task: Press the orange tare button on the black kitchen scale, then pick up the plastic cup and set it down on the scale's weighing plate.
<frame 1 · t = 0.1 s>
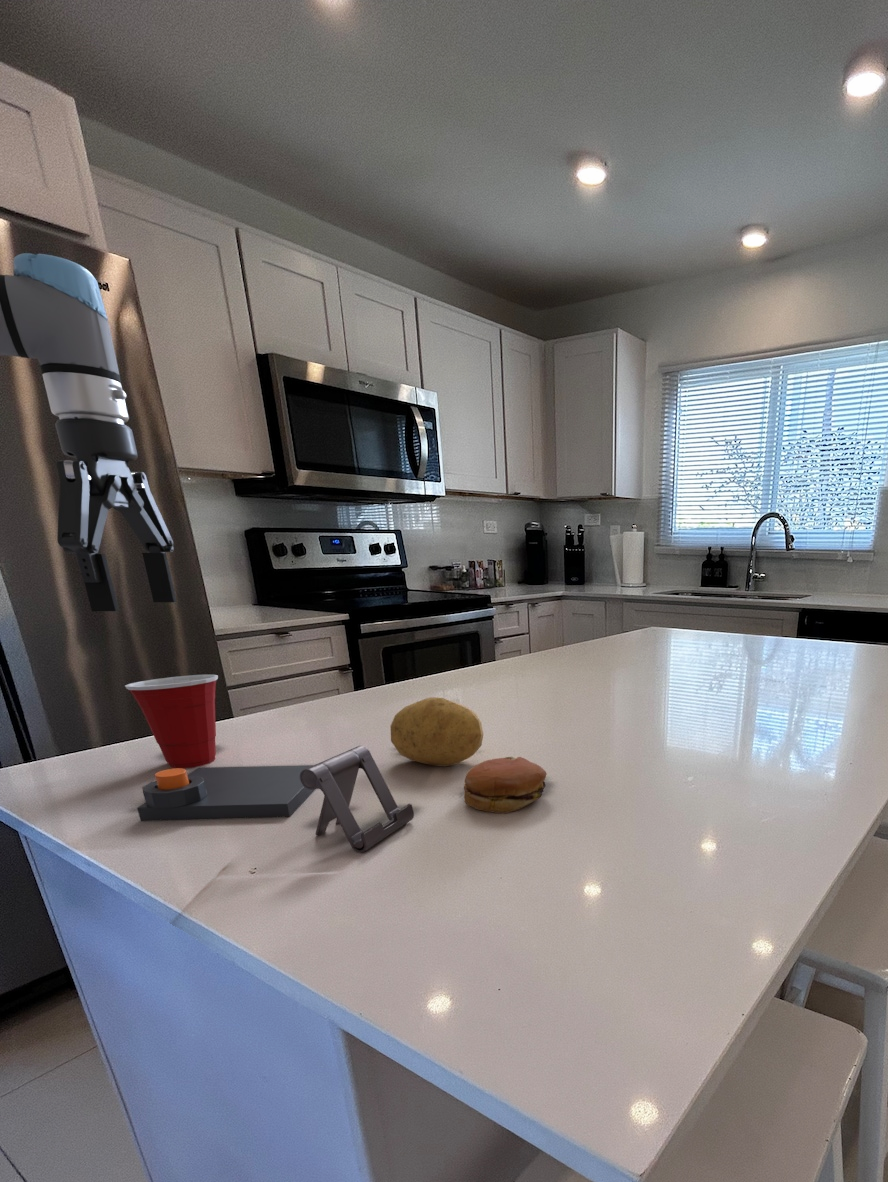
hand: (137, 606, 86), 21 cm above the kitchen island, tool pointing down, fingers open, 13 cm apart
scale: (242, 797, 80), on the kitchen island
plastic cup: (191, 763, 93), on the kitchen island
tablet stand: (360, 835, 70), on the kitchen island
potato: (439, 764, 93), on the kitchen island
tare button: (172, 779, 74), point 4 cm above the kitchen island, slide at 0.1 cm
burger: (505, 801, 80), on the kitchen island
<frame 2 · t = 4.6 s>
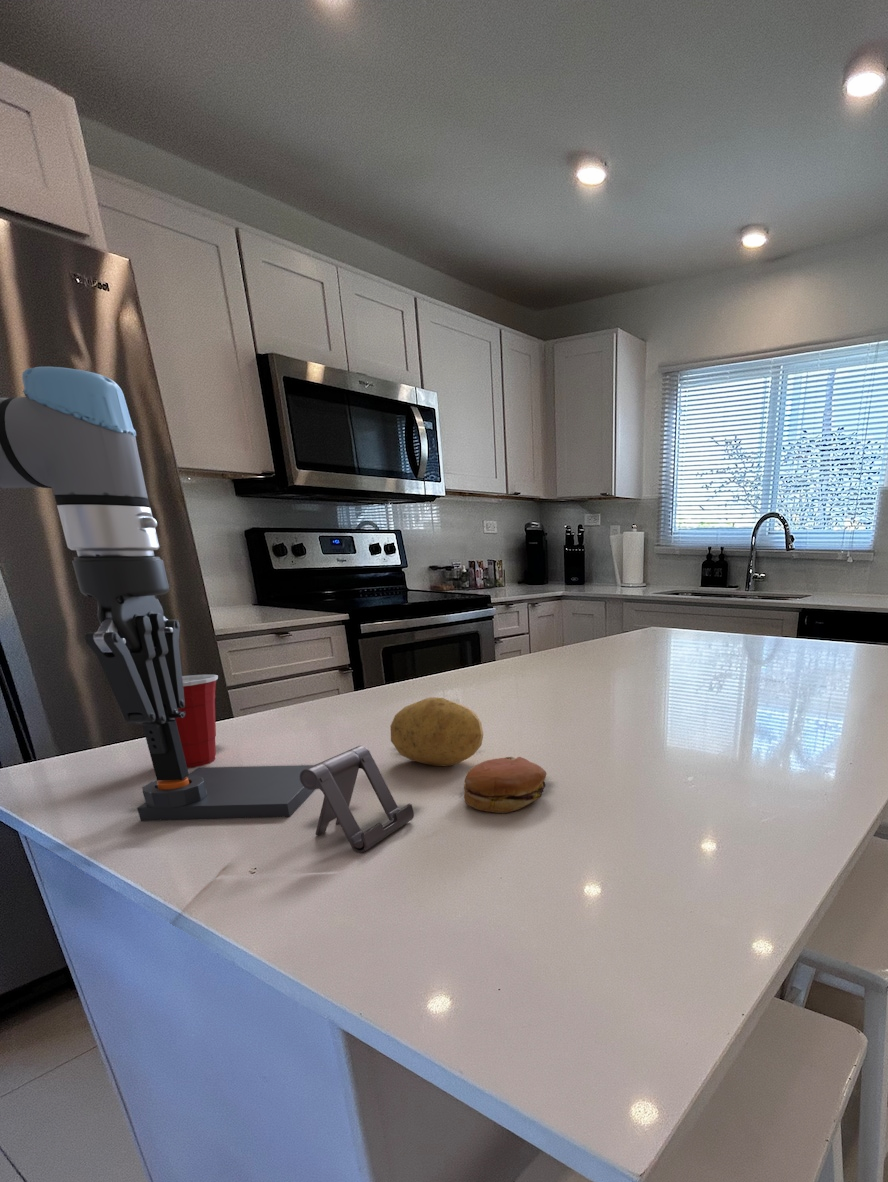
hand: (173, 777, 74), 4 cm above the kitchen island, tool pointing down, fingers closed
tare button: (174, 787, 74), point 3 cm above the kitchen island, slide at -0.8 cm, touching gripper
everything else where it was.
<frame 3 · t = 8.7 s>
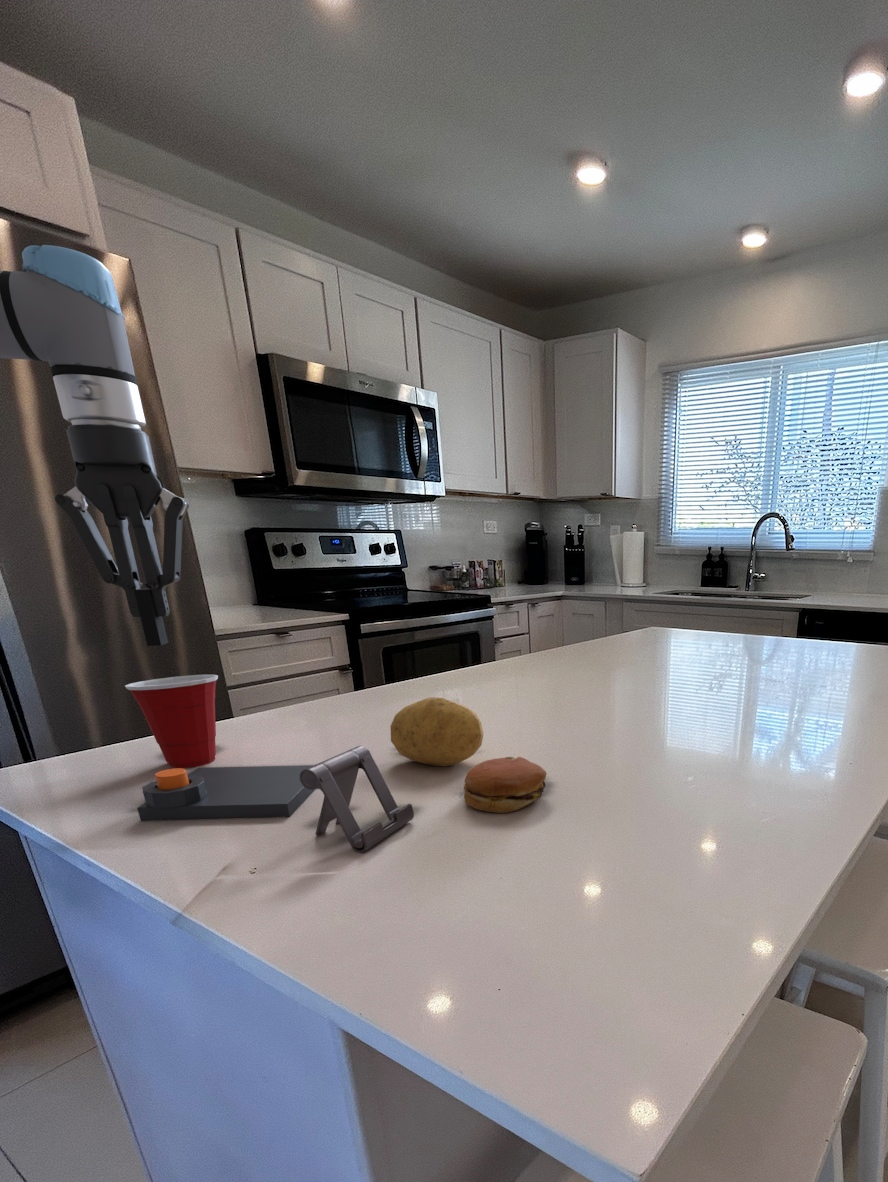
hand: (157, 644, 81), 17 cm above the kitchen island, tool pointing down, fingers closed
tare button: (172, 779, 74), point 4 cm above the kitchen island, slide at 0.1 cm
everything else where it was.
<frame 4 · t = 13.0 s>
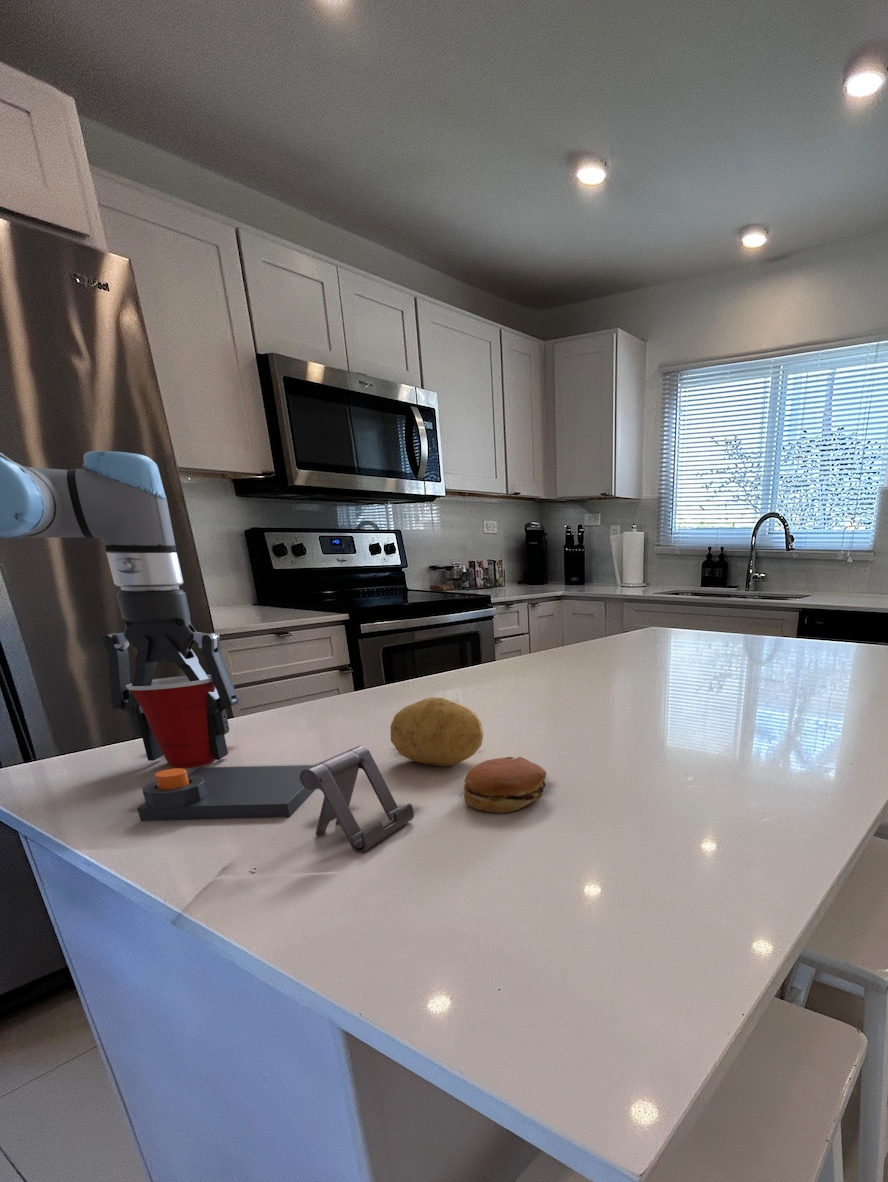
hand: (188, 757, 93), 1 cm above the kitchen island, tool pointing down, fingers closed on plastic cup, 8 cm apart
plastic cup: (192, 763, 93), on the kitchen island, touching gripper
everything else where it was.
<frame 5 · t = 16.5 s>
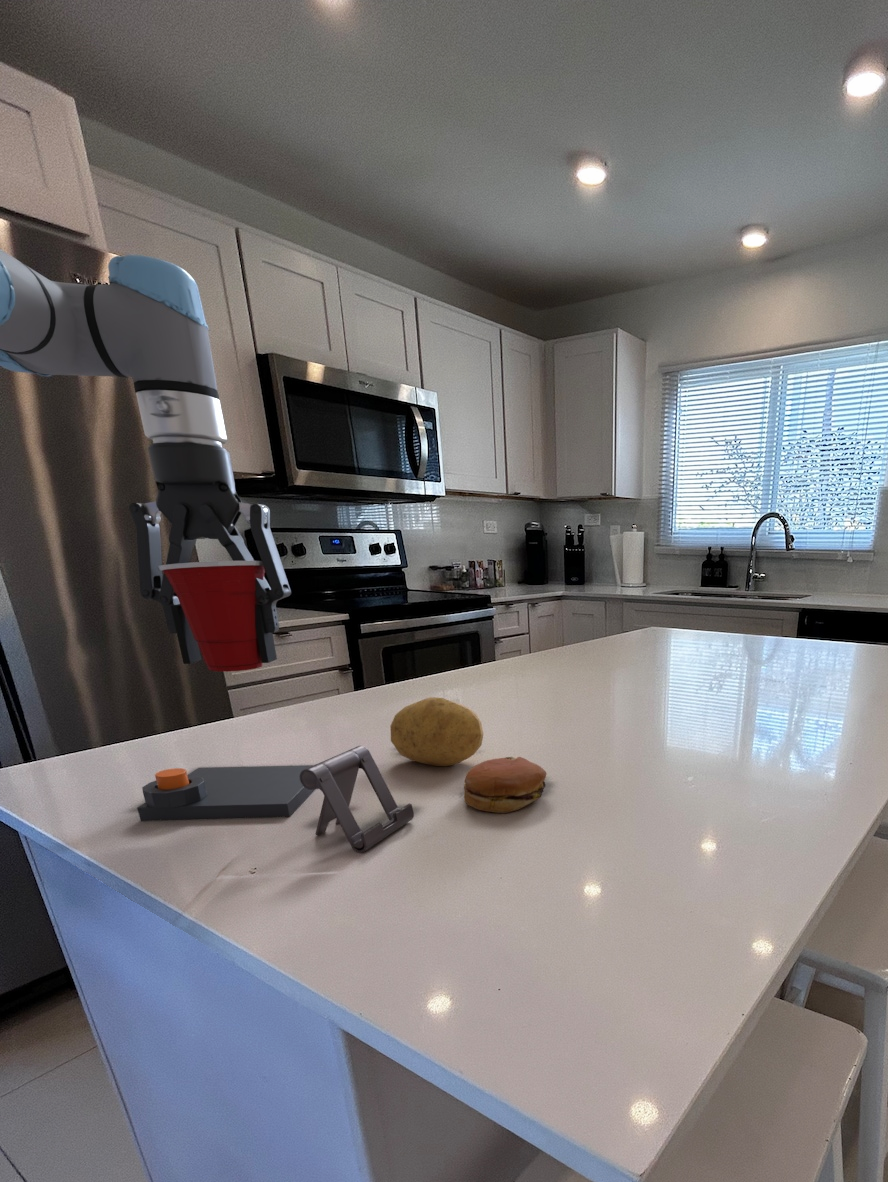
hand: (231, 661, 78), 16 cm above the kitchen island, tool pointing down, fingers closed on plastic cup, 8 cm apart
plastic cup: (235, 669, 78), point 15 cm above the kitchen island, touching gripper
everything else where it was.
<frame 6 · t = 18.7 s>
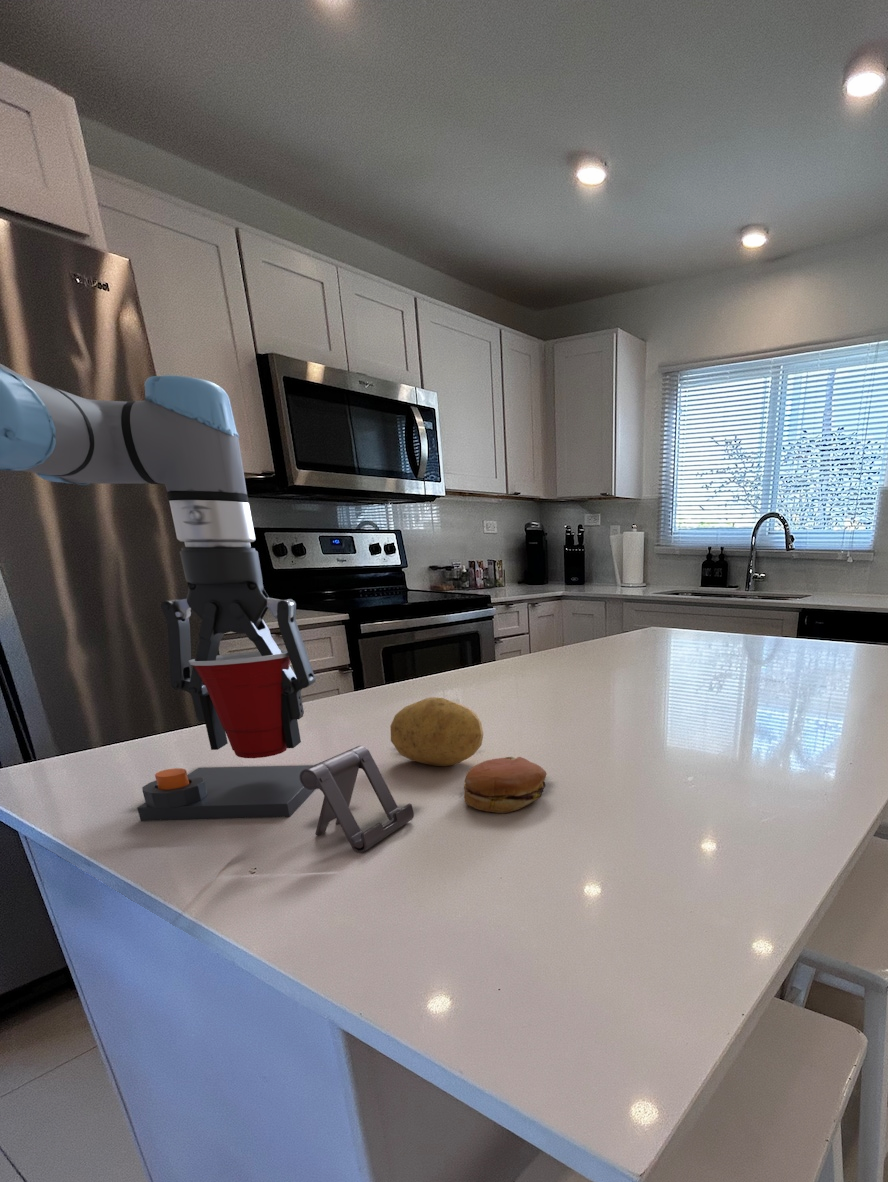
hand: (256, 745, 80), 6 cm above the kitchen island, tool pointing down, fingers closed on plastic cup, 8 cm apart
plastic cup: (261, 753, 80), point 5 cm above the kitchen island, touching gripper
everything else where it was.
when the fingers open (2 cm above the kitchen island, at t = 20.3 s): plastic cup stays where it is, resting on scale.
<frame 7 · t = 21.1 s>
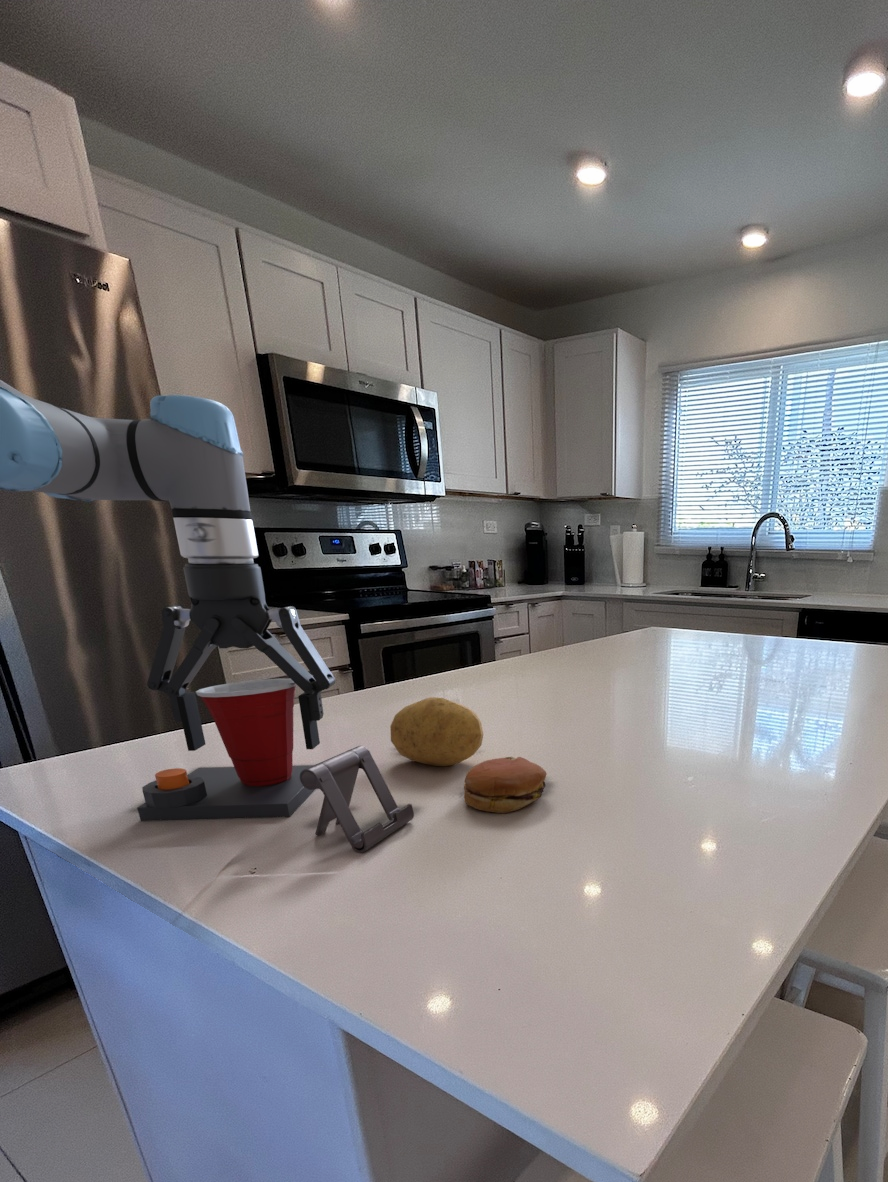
hand: (255, 747, 80), 6 cm above the kitchen island, tool pointing down, fingers open, 13 cm apart
plastic cup: (266, 779, 81), point 2 cm above the kitchen island, touching scale
everything else where it was.
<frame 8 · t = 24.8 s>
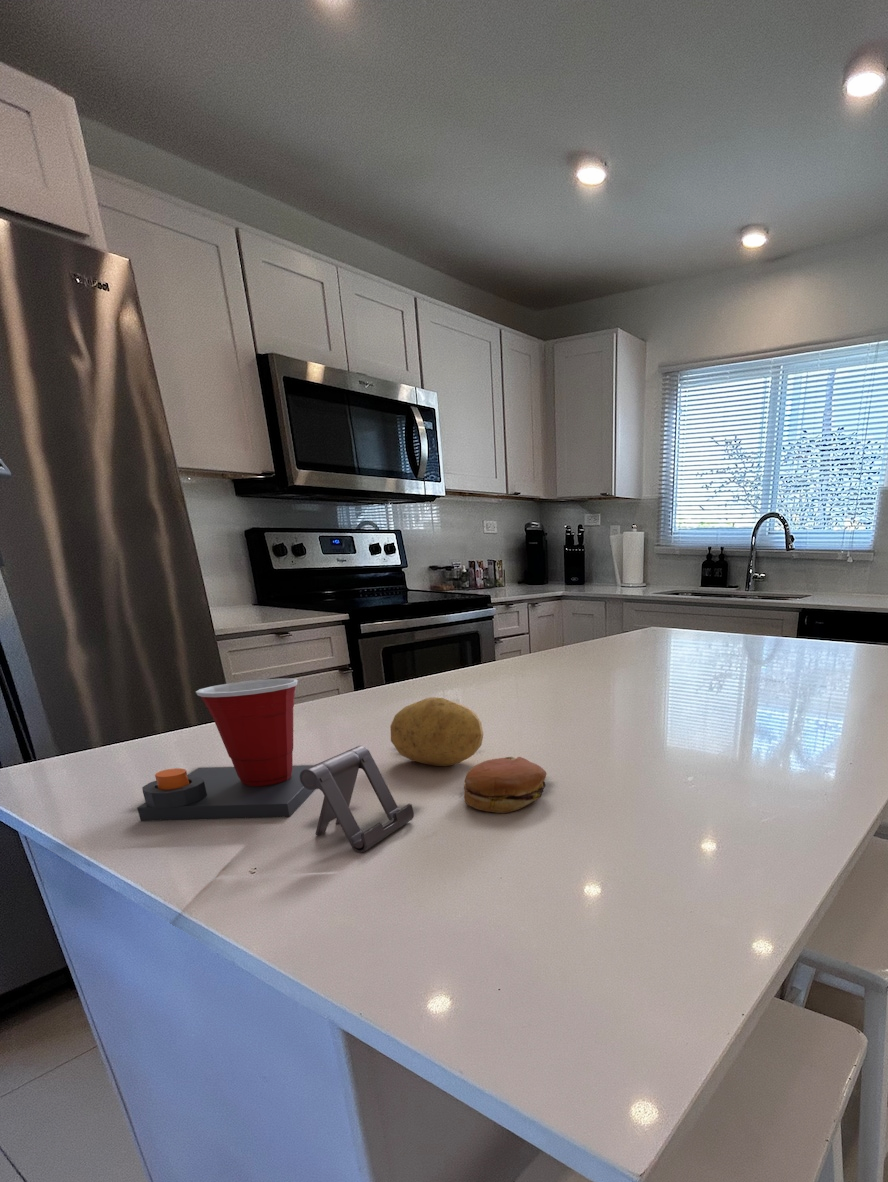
nothing on the kitchen island moved.
at the end: tare button pushed in 1.0 cm at the most during the clip, back to where it started at the end; plastic cup inside the target area on the scale (1.6 cm from its centre), point 1.5 cm above the scale's base; plastic cup touching scale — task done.
